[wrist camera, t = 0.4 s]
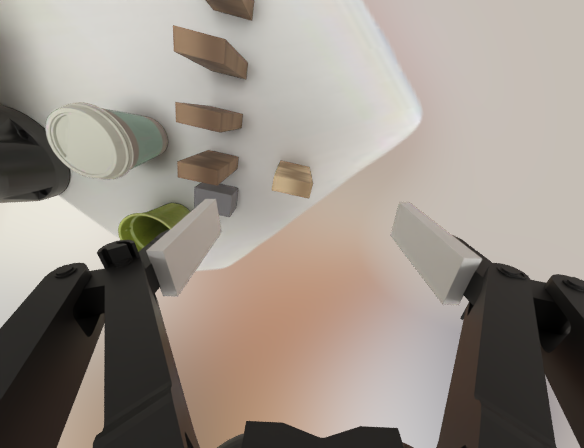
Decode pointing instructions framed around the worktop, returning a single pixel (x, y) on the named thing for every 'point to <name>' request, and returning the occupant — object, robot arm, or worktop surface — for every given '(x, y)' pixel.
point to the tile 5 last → (207, 167)
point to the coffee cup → (103, 140)
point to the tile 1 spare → (293, 179)
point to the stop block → (217, 197)
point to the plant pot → (150, 223)
